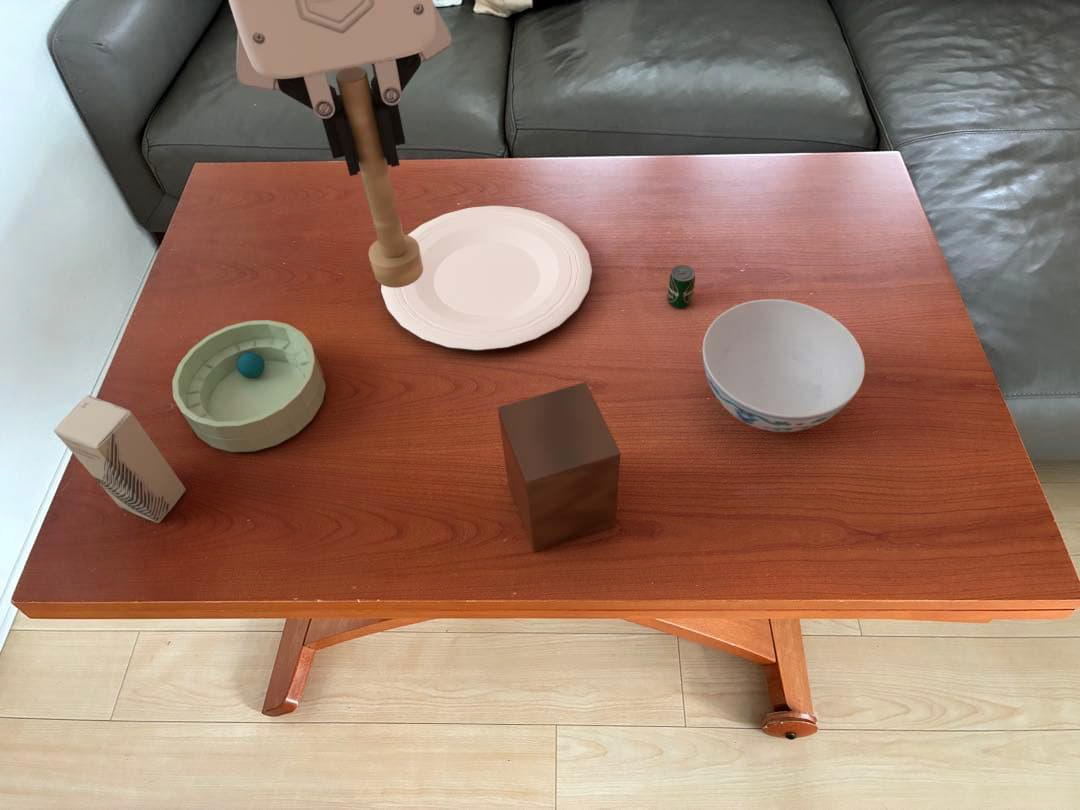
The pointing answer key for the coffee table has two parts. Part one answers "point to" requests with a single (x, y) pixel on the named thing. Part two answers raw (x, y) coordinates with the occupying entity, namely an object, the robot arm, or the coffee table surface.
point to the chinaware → (781, 364)
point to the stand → (560, 465)
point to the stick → (378, 185)
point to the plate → (492, 279)
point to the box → (121, 458)
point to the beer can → (681, 286)
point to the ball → (250, 365)
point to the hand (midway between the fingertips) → (370, 157)
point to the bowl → (249, 386)
